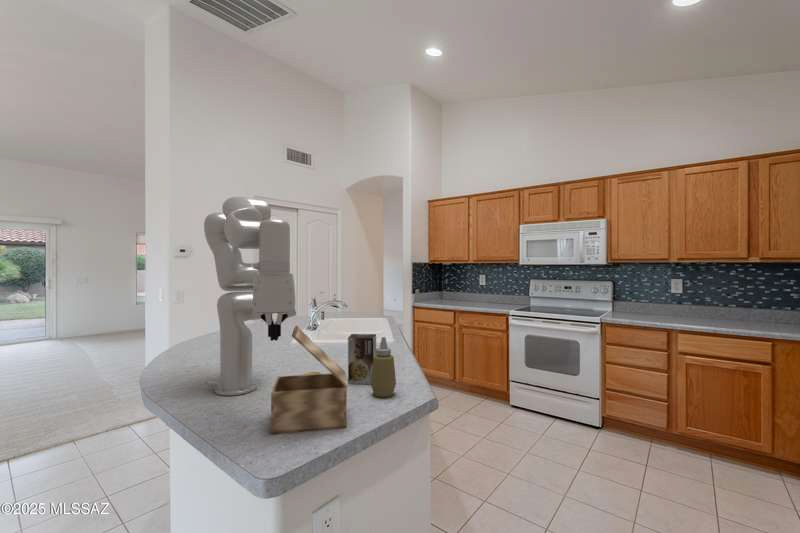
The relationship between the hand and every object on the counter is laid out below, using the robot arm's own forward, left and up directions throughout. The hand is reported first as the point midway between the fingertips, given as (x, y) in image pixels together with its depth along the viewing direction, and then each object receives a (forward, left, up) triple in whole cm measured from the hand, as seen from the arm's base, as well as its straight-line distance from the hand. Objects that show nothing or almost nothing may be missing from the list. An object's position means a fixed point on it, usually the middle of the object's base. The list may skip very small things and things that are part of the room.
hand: (274, 339), depth 94 cm
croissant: (+8, +20, -22) cm, 31 cm away
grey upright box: (+26, +29, -22) cm, 44 cm away
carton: (+9, 0, -22) cm, 23 cm away
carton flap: (+11, 0, -5) cm, 12 cm away
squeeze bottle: (+31, +15, -22) cm, 41 cm away
